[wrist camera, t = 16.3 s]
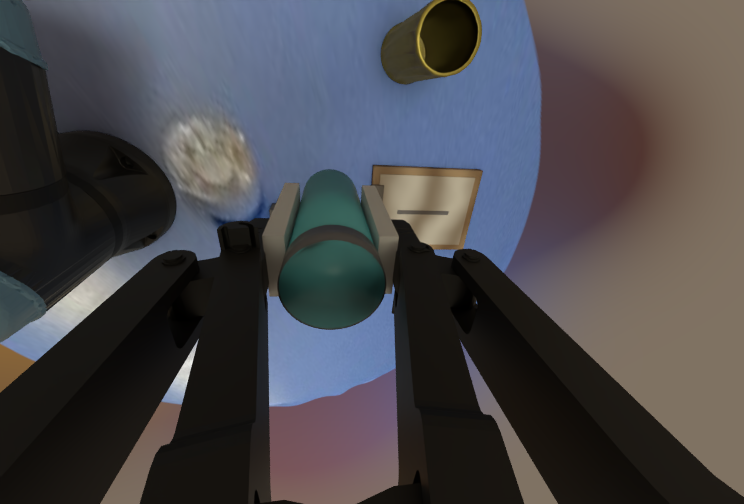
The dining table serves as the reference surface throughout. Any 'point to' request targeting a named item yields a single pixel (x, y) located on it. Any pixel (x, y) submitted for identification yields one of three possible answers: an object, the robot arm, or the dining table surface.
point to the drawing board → (430, 200)
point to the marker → (331, 257)
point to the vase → (432, 42)
